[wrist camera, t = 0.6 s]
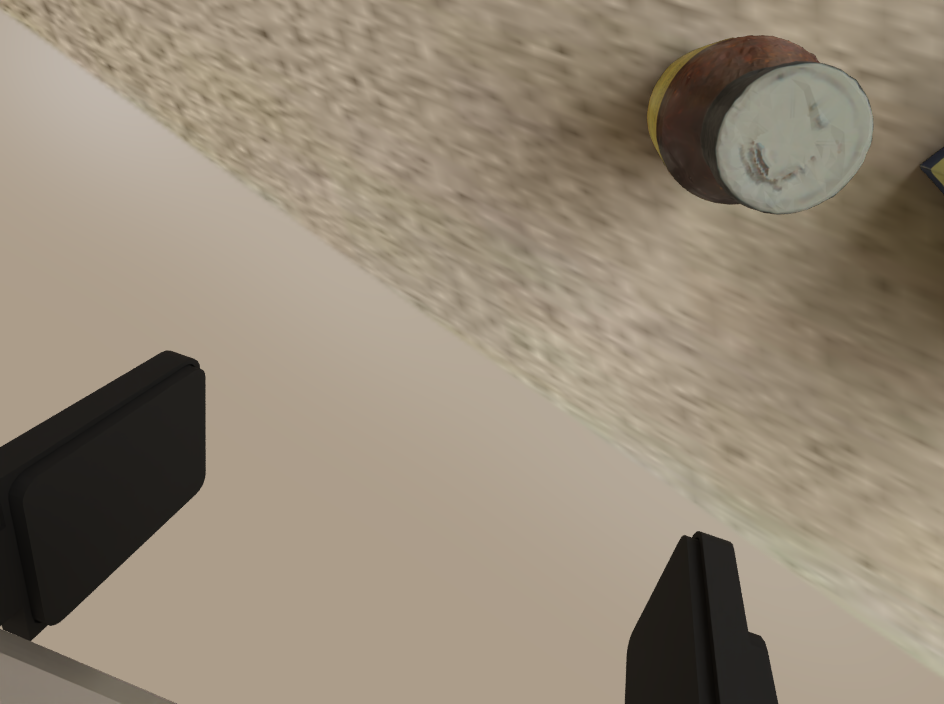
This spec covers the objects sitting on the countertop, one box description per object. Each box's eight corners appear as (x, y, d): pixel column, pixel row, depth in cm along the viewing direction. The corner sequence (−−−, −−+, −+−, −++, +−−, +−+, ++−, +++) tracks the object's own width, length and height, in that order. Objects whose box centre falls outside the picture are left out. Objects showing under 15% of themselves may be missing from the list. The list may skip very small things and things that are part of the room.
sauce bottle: (643, 166, 36) (641, 254, 19) (651, 50, 34) (656, 26, 16) (762, 164, 35) (880, 259, 17) (779, 42, 32) (940, 6, 15)
